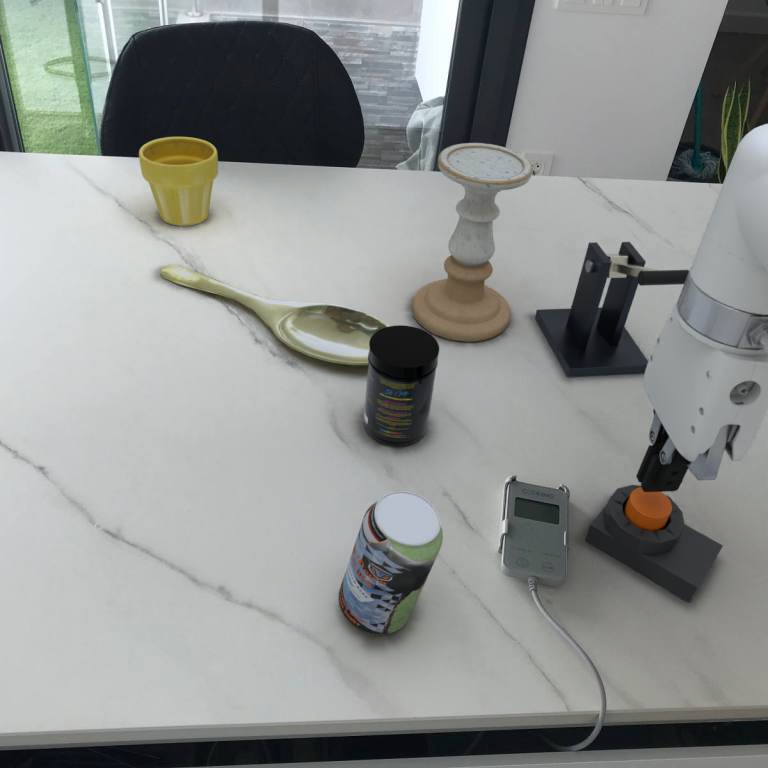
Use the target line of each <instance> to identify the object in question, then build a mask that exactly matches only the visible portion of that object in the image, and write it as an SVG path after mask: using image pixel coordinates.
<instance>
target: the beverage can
mask: <svg viewBox="0 0 768 768" xmlns="http://www.w3.org/2000/svg"><path fill="white" fill-rule="evenodd" d="M440 517H441V516H440V514H439V512H438V510H437V508H436V507H435V505H433V504H432V503H431V502H430V501H429V500H428V499H426V498H425V497H423V496H422V495H419V494H417V493H414V492H410V491H405V490H399V491H398V490H397V491H392V492H389V493H388V492H387V494H385V495H382V496H381V498H380V499H378V500H376V501H375V502H374V503H372V504H371V505H370V506H369V508H368V509H367V510H366V512H365V514H364V515H363V518H362V522H361V524H360V526H359V530H358V533H357V536H356V539H355V542H354V545H353V547H352V551H351V554H350V557H349V560H348V562H347V567H346V569H345V571H344V575H343V577H342V581H341V584H340V587H339V590H338V591H339V592H338V605H339V608H340V610H341V612H342V614H343V616H344V617H345V618H346V620H347V621H348V622H349V623H350V624H351V625H352V626H353V627H355V628H356V629H358V630H360V631H362V632H364V633H367V634H370V635H379V636H380V635H381V636H382V635H389V634H393V633H395V632H396V631H400V629H402V628H403V627H404V626H405V625H406V624H407V622H409V619H410V617H411V615H412V612H413V610H414V609H415V606H416V605H417V602H418V599H419V597H420V595H421V593H422V591H423V588H424V585H425V584H426V582H427V580H428V577H429V575H430V573H431V570H432V568H433V566H434V564H435V562H436V559H437V557H438V555H439V553H440V551H441V548H442V545H443V540H444V533H443V527H442V524H441V523H442V522H441V518H440Z"/></svg>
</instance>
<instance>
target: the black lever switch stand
mask: <svg viewBox="0 0 768 768" xmlns="http://www.w3.org/2000/svg"><path fill="white" fill-rule="evenodd" d="M606 254H607V253H606V252H605V251H604V250H603V249H602V247H601V246H600V244H599V243H598V242H588V245H587V249H586V252H585V256H584V259H583V262H582V266H581V270H580V274H579V277H578V281H577V284H576V288H575V292H574V297H573V299H572V303H571V307H570V308H545V309H543V308H542V309H536V312H535V315H534V318H535V320H536V322H537V324H538V326H539V327H540V329H541V331H542V333H543V335H544V337H545V339H546V341H547V342H548V344H549V346H550V348H551V349H552V351H553V353H554V355H555V356H556V358H557V361H558V362H559V364H560V366H561V367H562V370H563V371H564V373H565V375H566V377H567V378H575V377H591V376H592V377H593V376H612V375H631V374H632V375H634V374H645V370H646V367H647V364H648V361H649V359H648V358H647V357H646V356H645V355H644V353H643V351H642V350H641V349H640V347H639V345H638V344H637V343H636V342H635V340H634V339H633V337H632V335H631V334H630V332H629V331H628V329H627V328H626V327H625V325H626V323H627V320H628V316H629V314H630V311H631V309H632V308H631V307H632V305H633V302H634V298H635V295H636V292H637V289H638V286H639V283H638V279H637V278H638V277H634V276H630V275H627V277H626V278H610V279H609V283H608V286H607V290H606V293H605V296H604V299H603V304H602V306H601V307H600V303H601V300H602V297H603V293H604V291H605V288H606V284H607V280H608V278H607V277H608V274H609V270H610V267H611V264H612V262H611V261H610V259H609V258H608V257H607V255H606ZM617 254H620V255H625V256H628V264H632V265H637V266H641V267H646V260H645V259H644V258H643V256H642V255H641V253H639V251H638V250H637V249H636V248H635V246H634V244H633V243H631V242H630V241H622V242H621V244H620V247H619V251H618V253H617Z"/></svg>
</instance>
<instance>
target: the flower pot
mask: <svg viewBox="0 0 768 768" xmlns="http://www.w3.org/2000/svg"><path fill="white" fill-rule="evenodd" d="M218 156H219V155H218V150H217V148H216V147H215V146H214V145H213V144H212V143H211V142H209V141H207V140H205V139H204V140H203V139H201V138H197V137H189V136H167V137H160V138H156V139H153V140H150V141H148V142H146V143H145V144H143V145H142V146H141V147H140V148H139V150H138V157H139V166H140V172H141V176H142V177H143V179H144V180H145V181H146V182H148V185H149V188H150V190H151V193H152V196H153V198H154V202H155V205H156V207H157V210H158V213H159V215H160V218H161V219H162V220H163V221H164V222H165V223H167V224H169V225H173V226H178V227H188V226H189V227H190V226H195V225H198V224H201V223H203V222H204V221H206V220H207V218H208V216H209V211H210V205H211V198H212V191H213V186H214V180H215V179H216V178H217V177H218V175H219V157H218Z"/></svg>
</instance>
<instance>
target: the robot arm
mask: <svg viewBox="0 0 768 768" xmlns="http://www.w3.org/2000/svg"><path fill="white" fill-rule="evenodd" d="M714 203H715V204H714V205H713V209H712V211H711V214H710V216H709V219H708V222H707V223H706V227H705V229H704V232H703V234H702V237H701V239H700V242H699V245H698V248H697V249H696V253H695V255H694V258H693V261H692V263H691V266H690V268H689V269H688V270H689V273H688V276H687V278H686V281H685V283H684V284H683V286H682V289H681V290H680V294H679V297H678V299H677V301H676V303H675V304H674V306H673V307H672V310H671V311H670V312H669V315H668V317H667V319H666V320H665V322H664V324H663V326H662V328H661V330H660V332H659V335H658V337H657V339H656V341H655V343H654V346H653V348H652V350H651V353H650V355H649V357H648V364H647V367H646V370H645V373H643V374H644V376H643V379H642V383H643V388H644V392H645V394H646V396H647V398H648V400H649V402H650V404H651V407H652V408H653V409H652V412H653V419H652V422H651V425H650V429H649V432H648V440H649V443H650V444H649V445H648V447H647V449H646V451H645V454H644V455H643V459H642V461H641V463H640V466H639V468H638V470H637V473H636V476H635V477H636V479H637V481H638V482H639V483H640V486H641V488H642V490H643V491H644V492H662V493H663V492H667V493H668V492H676V491H678V490H679V488H680V487H681V484H682V482H683V480H684V478H685V476H686V474H687V472H688V470H689V472H690V474H692V476H693V477H695V479H696V480H697V481H715V480H716V479H717V478H718V474H719V471H720V467H721V464H722V460H723V456H724V454H725V452H726V454H727V455H728V457H729V458H730V460H731V462H742V461H743V460H744V458H745V457H746V455H747V454H748V452H749V451H750V449H751V447H752V445H753V443H754V441H755V439H756V437H757V435H758V432H759V430H760V428H761V426H762V423H763V421H764V418H765V416H766V414H767V411H768V123H764V124H762V125H759V126H757V127H754V128H752V129H751V130H750V131H749V132H747V133H746V134H745V135H744V137H742V139H741V140H740V142H739V143H738V145H737V148H736V149H735V151H734V155H733V156H732V159H731V161H730V164H729V167H728V169H727V172H726V175H725V177H724V180H723V182H722V185H721V187H720V191H719V193H718V196H717V198H716V201H715V202H714Z"/></svg>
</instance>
